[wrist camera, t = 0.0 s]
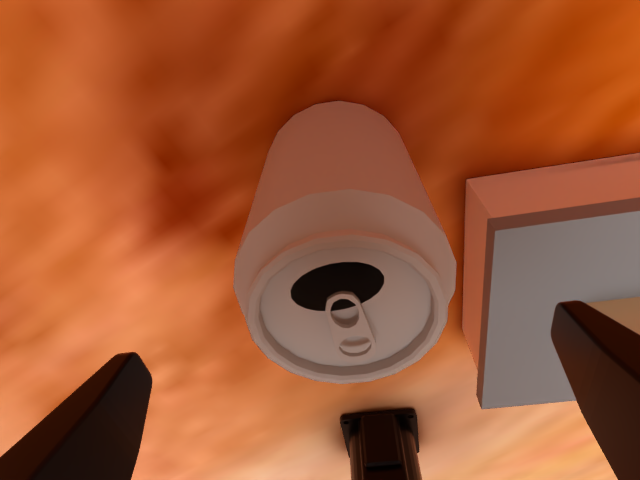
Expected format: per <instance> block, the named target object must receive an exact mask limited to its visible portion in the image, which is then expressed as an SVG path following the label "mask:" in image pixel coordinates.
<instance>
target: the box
mask: <svg viewBox="0 0 640 480" xmlns="http://www.w3.org/2000/svg"><path fill="white" fill-rule="evenodd" d="M638 197H640V153H635V154H628V155H622V156H615V157H609V158H602V159H595V160H589V161H582V162H576V163H569V164H563V165H556V166H549V167H543V168H536V169H530V170H523V171H516V172H510V173H503V174H497V175H490V176H484V177H477V178H470V179H466V199H465V237H464V275H463V313H462V330H463V333H464V336H465V338H466V341H467V343H468V346H469V349H470V351H471V354H472V356H473V359H474V362H475V364H476V367H477V370H478V361H479V345H480V329H481V313H482V297H483V281H484V265H485V249H486V232H487V219H489V218H497V217H504V216H511V215H518V214H525V213H532V212H539V211H546V210H553V209H560V208H567V207H574V206H582V205H589V204H596V203H603V202H610V201H617V200H624V199H631V198H638Z"/></svg>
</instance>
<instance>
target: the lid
mask: <svg viewBox="0 0 640 480" xmlns="http://www.w3.org/2000/svg"><path fill="white" fill-rule="evenodd" d="M573 300H580V301H582V302H584V303H586V304H588V305H590V306H591V307H593V308H595V309H597V310H598V311H600V312H602V313H603V314H605V315H607V316H609V317H610V318H612V319H614V320H615V321H617V322H619V323H621V324H622V325H624V326H626V327H627V328H629V329H631V330H633V331H634V332H636V333H638V334H639V335H640V197H638V198H631V199H624V200H617V201H610V202H603V203H596V204H589V205H582V206H574V207H567V208H560V209H553V210H546V211H539V212H532V213H525V214H518V215H511V216H504V217H497V218H489V219H487V232H486V249H485V265H484V281H483V297H482V313H481V329H480V345H479V361H478V377H477V393H476V395H477V398H478V401H479V404H480V406H481V409H490V408H501V407H512V406H523V405H533V404H544V403H555V402H565V401H576V398H575V396H574V393H573V391H572V388H571V386H570V383H569V381H568V379H567V376H566V374H565V371H564V369H563V367H562V364H561V362H560V359H559V357H558V354H557V352H556V350H555V347H554V345H553V342H552V339H551V326H552V321H553V316H554V311H555V307H556V305H557V304H558V303H559V302H565V301H573Z"/></svg>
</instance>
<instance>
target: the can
mask: <svg viewBox="0 0 640 480" xmlns="http://www.w3.org/2000/svg"><path fill="white" fill-rule="evenodd" d="M456 264H457V263H456V260H455V258H454V255H453V252H452V250H451V247H450V245H449V242H448V240H447V237H446V235H445V232H444V230H443V228H442V226H441V224H440V221H439V219H438V217H437V215H436V213H435V210H434V208H433V206H432V204H431V202H430V200H429V197H428V195H427V193H426V191H425V189H424V186H423V184H422V182H421V180H420V178H419V176H418V173H417V171H416V169H415V167H414V165H413V162H412V160H411V158H410V156H409V154H408V152H407V149H406V147H405V145H404V143H403V141H402V138H401V136H400V134H399V132H398V131H397V130H396V129H395V128H394V127H393V126H392V124H391V123H390V122H389V121H388V120H387V119H386V118H385V117H384V116H383V115H381V114H379V113H378V112H376V111H374V110H372V109H370V108H368V107H367V106H365V105H362V104H356V103H351V102H345V101H333V102H327V103H320V104H315V105H313V106H311V107H309V108H307V109H305V110H303V111H301V112H299V113H297V114H295V115H294V116H293V117H292V118H291V119H290V120H289V121H288V122H287V123H286V124H285V125H284V126H283V127H282V128H281V129H280V130H279V131H278V132H277V134H276V137H275V139H274V141H273V143H272V145H271V147H270V149H269V152H268V155H267V158H266V161H265V165H264V168H263V171H262V174H261V177H260V181H259V184H258V187H257V190H256V194H255V197H254V200H253V203H252V207H251V210H250V213H249V216H248V220H247V223H246V226H245V229H244V233H243V236H242V239H241V242H240V246H239V249H238V252H237V255H236V259H235V269H234V285H233V288H234V291H235V293H236V296H237V299H238V302H239V305H240V308H241V311H242V313H243V314H244V315H245V320H246V323H247V326H248V328H249V331H250V334H251V337H252V340H253V341H254V342H255V343H256V345H257V346H258V347H259V348H260V349H261V350H262V352H263V353H264V354H265V355H266V356H267V358H269V359H270V360H272V361H273V362H275V363H276V364H278V365H280V366H281V367H283V368H284V369H286V370H287V371H289V372H291V373H294V374H297V375H300V376H303V377H306V378H308V379H311V380H314V381H321V382H330V383H339V384H347V383H359V382H370V381H373V380H376V379H380V378H383V377H387V376H390V375H393V374H396V373H398V372H399V371H401V370H403V369H405V368H406V367H408V366H410V365H412V364H414V363H415V362H417V361H419V360H420V359H421V358H422V357H423V356H424V355H425V354H426V353H427V352H428V351H429V350H430V349H431V348H432V347H433V346H434V345H435V344H436V343H437V341H438V339H439V337H440V335H441V333H442V331H443V329H444V327H445V325H446V323H447V319H448V305H449V302H450V300H451V298H452V296H453V294H454V292H455V284H456Z"/></svg>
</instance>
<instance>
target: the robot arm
mask: <svg viewBox="0 0 640 480" xmlns="http://www.w3.org/2000/svg"><path fill="white" fill-rule="evenodd" d="M551 339H552V342H553V345H554V347H555V350H556V352H557V354H558V357H559V359H560V362H561V364H562V367H563V369H564V371H565V374H566V376H567V379H568V381H569V383H570V386H571V388H572V391H573V393H574V396H575V398H576V400H577V403H578V405H579V407H580V410H581V412H582V414H583V416H584V418H585V420H586V422H587V424H588V425H589V427H590V429H591V431H592V433H593V435H594V436H595V438H596V440H597V442H598V444H599V446H600V447H601V449H602V451H603V453H604V455H605V457H606V458H607V460H608V462H609V464H610V466H611V468H612V469H613V471H614V473H615V475H616V477H617V479H618V480H640V335H639V334H638V333H636V332H634V331H633V330H631V329H629V328H627V327H626V326H624V325H622V324H621V323H619V322H617V321H615V320H614V319H612V318H610V317H609V316H607V315H605V314H603V313H602V312H600V311H598V310H597V309H595V308H593V307H591V306H590V305H588V304H586V303H584V302H582V301H580V300H573V301H565V302H559V303H558V304H557V305H556V307H555V311H554V316H553V321H552V326H551ZM151 388H152V377H151V374H150V372H149V371H148V369H147V367H146V366H145V364H144V363H143V361H142V359H141V358H140V356H139V355H138V354H137V353H135V352H129V353H120V354H117V355H115V356H114V357H113V358H111V359H110V360H109V361H108V362H107V363H106V364H105V365H104V366H102V367H101V368H100V369H99V370H98V371H97V372H96V373H95V374H93V375H92V376H91V377H90V378H89V379H88V380H87V381H86V382H84V383H83V384H82V385H81V386H80V387H79V388H78V389H77V390H75V391H74V392H73V393H72V394H71V395H70V396H69V397H68V398H66V399H65V400H64V401H63V402H62V403H61V404H60V405H59V406H58V407H56V408H55V409H54V410H53V411H52V412H51V413H50V414H49V415H47V416H46V417H45V418H44V419H43V420H42V421H41V422H40V423H38V424H37V425H36V426H35V427H34V428H33V429H32V430H31V431H29V432H28V433H27V434H26V435H25V436H24V437H23V438H22V439H20V440H19V441H18V442H17V443H16V444H15V445H14V446H12V447H11V448H10V449H9V450H8V451H7V452H6V453H5V454H3V455H2V456H1V457H0V480H131V477H132V474H133V470H134V467H135V464H136V460H137V456H138V453H139V449H140V444H141V440H142V434H143V429H144V424H145V419H146V414H147V409H148V404H149V398H150V393H151ZM340 424H341V428H342V431H343V435H344V439H345V443H346V447H347V451H348V455H349V458H350V465H351V480H422V477H421V472H420V466H419V461H418V456H417V453H418V452H419V441H418V428H417V415H416V411H415V410H414V409H404V410H393V411H383V412H372V413H362V414H351V415H343V416H341V417H340Z"/></svg>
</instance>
